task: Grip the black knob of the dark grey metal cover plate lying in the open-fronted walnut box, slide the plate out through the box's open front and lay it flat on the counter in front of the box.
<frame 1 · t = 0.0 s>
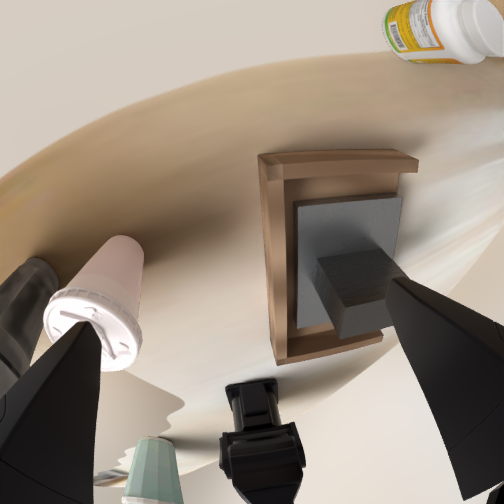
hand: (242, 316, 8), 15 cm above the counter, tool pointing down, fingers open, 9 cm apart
walnut box: (334, 255, 25), on the counter
beverage cup: (41, 276, 22), on the counter
smoothie: (124, 253, 23), on the counter
cover plate: (343, 260, 24), point 1 cm above the counter, touching walnut box
disposable coffee cup: (154, 441, 41), on the counter
supplement bottle: (405, 35, 16), on the counter
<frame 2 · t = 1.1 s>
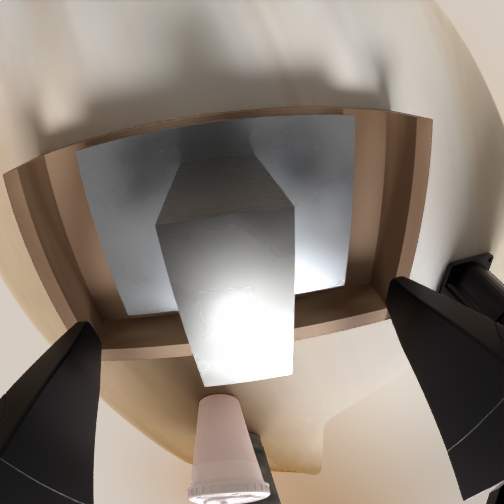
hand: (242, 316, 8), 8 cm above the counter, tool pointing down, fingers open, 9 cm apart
walnut box: (224, 215, 15), on the counter
beverage cup: (241, 438, 29), on the counter
smoothie: (219, 402, 24), on the counter
cover plate: (224, 214, 14), point 1 cm above the counter, touching walnut box
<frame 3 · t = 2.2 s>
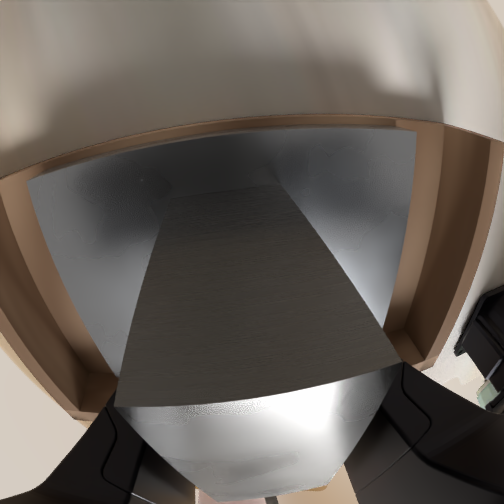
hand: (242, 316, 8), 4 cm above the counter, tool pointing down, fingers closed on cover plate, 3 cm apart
walnut box: (233, 258, 11), on the counter
smoothie: (224, 441, 20), on the counter
cover plate: (233, 261, 10), point 1 cm above the counter, touching gripper, walnut box
disposable coffee cup: (489, 380, 28), on the counter
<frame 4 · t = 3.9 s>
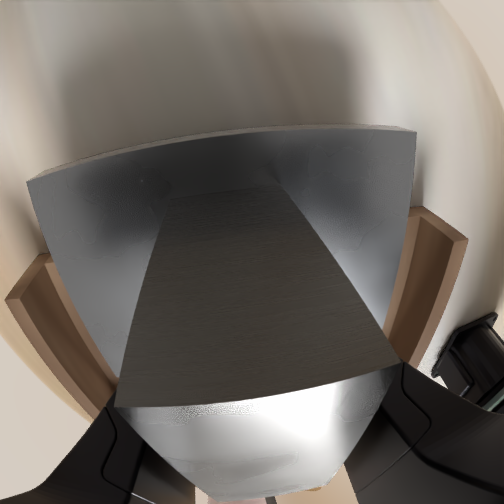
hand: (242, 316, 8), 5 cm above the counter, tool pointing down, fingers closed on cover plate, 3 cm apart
walnut box: (242, 320, 14), on the counter
smoothie: (229, 447, 23), on the counter
cover plate: (233, 261, 10), point 2 cm above the counter, touching gripper
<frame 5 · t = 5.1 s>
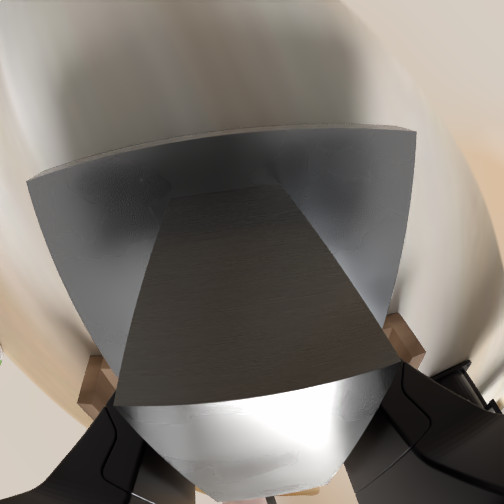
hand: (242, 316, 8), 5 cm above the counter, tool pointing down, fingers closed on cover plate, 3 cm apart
walnut box: (253, 392, 18), on the counter
beverage cup: (253, 480, 32), on the counter
smoothie: (239, 465, 27), on the counter
cover plate: (233, 261, 10), point 2 cm above the counter, touching gripper
when the fingers open (4 cm above the counter, at t = 5.7 s): cover plate drops 1 cm, on the counter.
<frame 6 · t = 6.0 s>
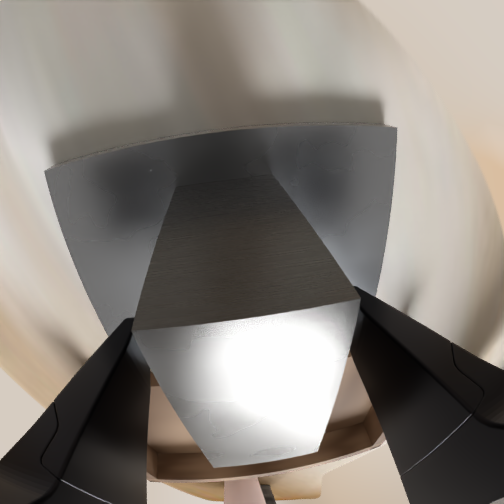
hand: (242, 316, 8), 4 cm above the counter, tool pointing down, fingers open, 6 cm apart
walnut box: (255, 407, 17), on the counter
beverage cup: (254, 487, 31), on the counter
smoothie: (240, 473, 26), on the counter
cover plate: (231, 246, 11), on the counter
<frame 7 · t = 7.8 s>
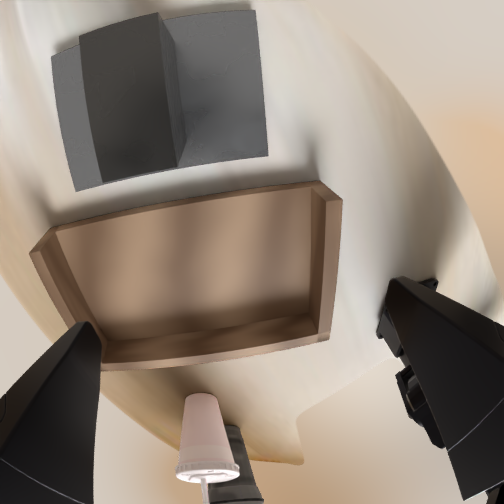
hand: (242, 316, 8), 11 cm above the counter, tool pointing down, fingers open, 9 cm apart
walnut box: (189, 269, 20), on the counter
beverage cup: (224, 430, 35), on the counter
smoothie: (201, 399, 30), on the counter
cover plate: (156, 95, 14), on the counter
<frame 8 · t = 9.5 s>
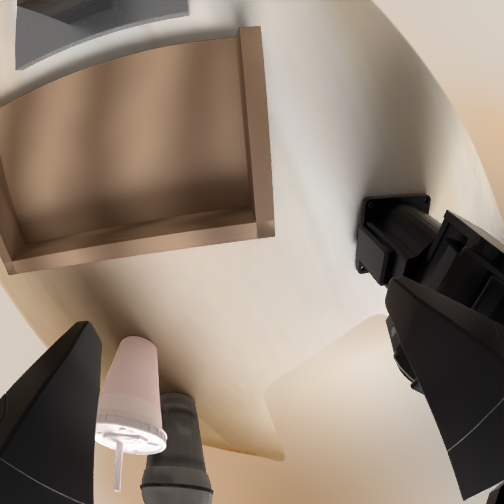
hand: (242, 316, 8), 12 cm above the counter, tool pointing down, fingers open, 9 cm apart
walnut box: (107, 144, 15), on the counter
beverage cup: (176, 400, 30), on the counter
smoothie: (138, 347, 25), on the counter
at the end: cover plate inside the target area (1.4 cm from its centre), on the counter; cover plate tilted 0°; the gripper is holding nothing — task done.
